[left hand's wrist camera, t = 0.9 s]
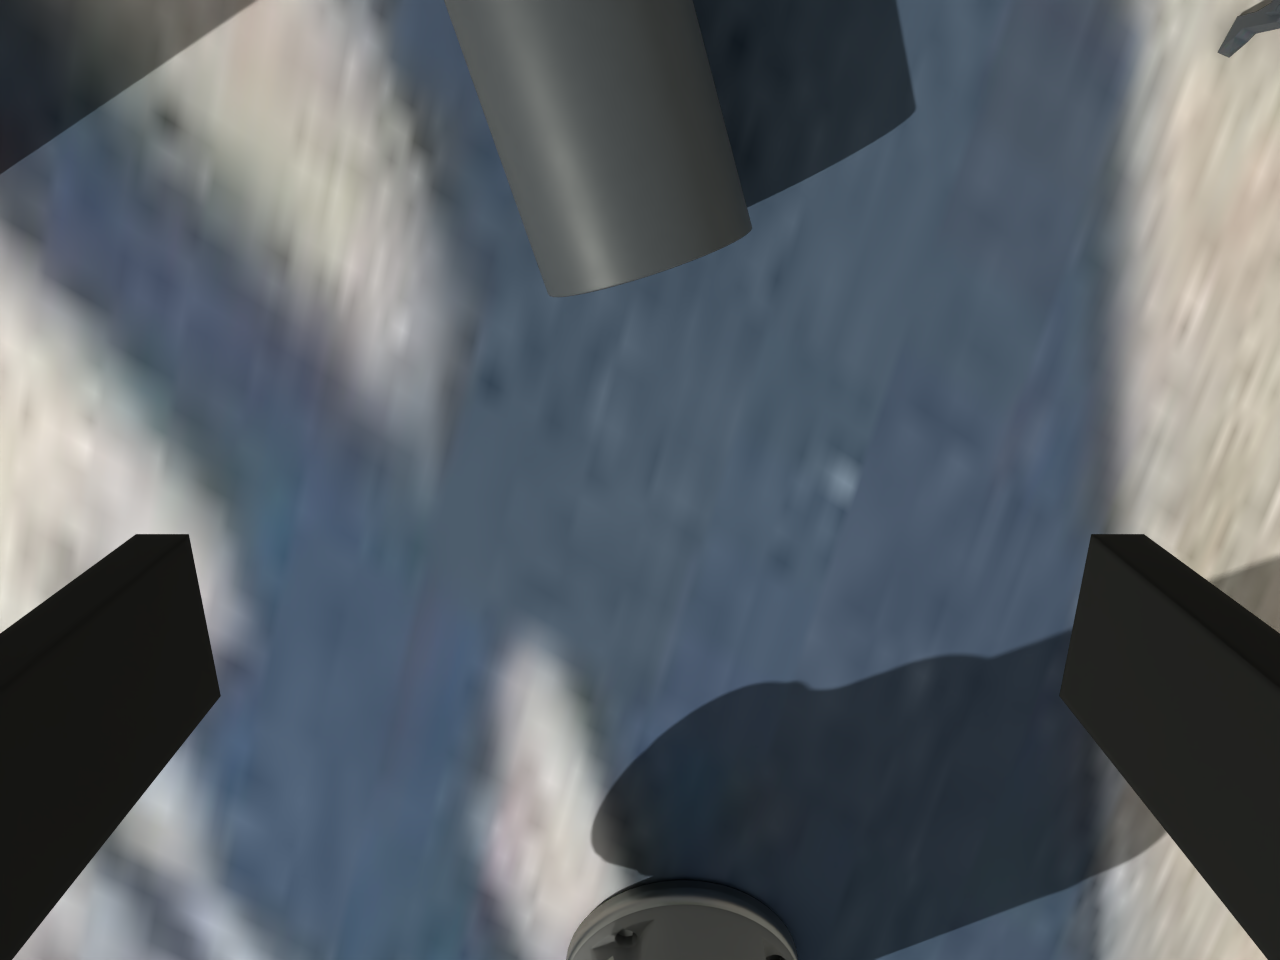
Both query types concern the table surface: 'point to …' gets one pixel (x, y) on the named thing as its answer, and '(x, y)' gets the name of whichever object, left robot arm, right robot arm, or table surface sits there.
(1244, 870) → the left robot arm
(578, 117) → the dark grey cylinder
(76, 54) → the table surface
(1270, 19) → the toy
